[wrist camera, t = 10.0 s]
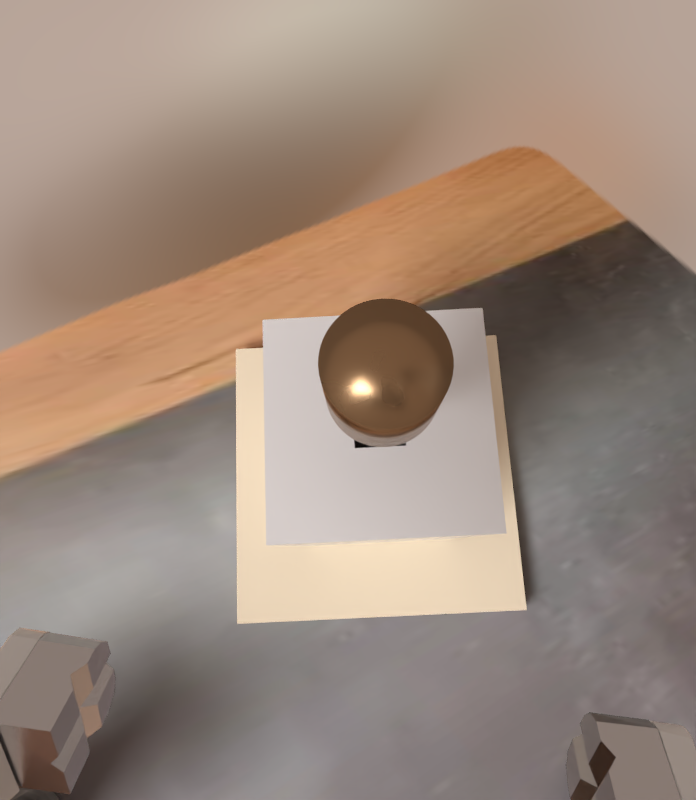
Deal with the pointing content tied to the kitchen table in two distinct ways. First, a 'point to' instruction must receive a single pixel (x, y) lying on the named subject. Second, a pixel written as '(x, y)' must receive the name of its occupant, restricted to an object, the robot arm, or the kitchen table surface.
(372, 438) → the plunger
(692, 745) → the robot arm
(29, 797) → the beverage cup
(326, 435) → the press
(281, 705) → the kitchen table surface
